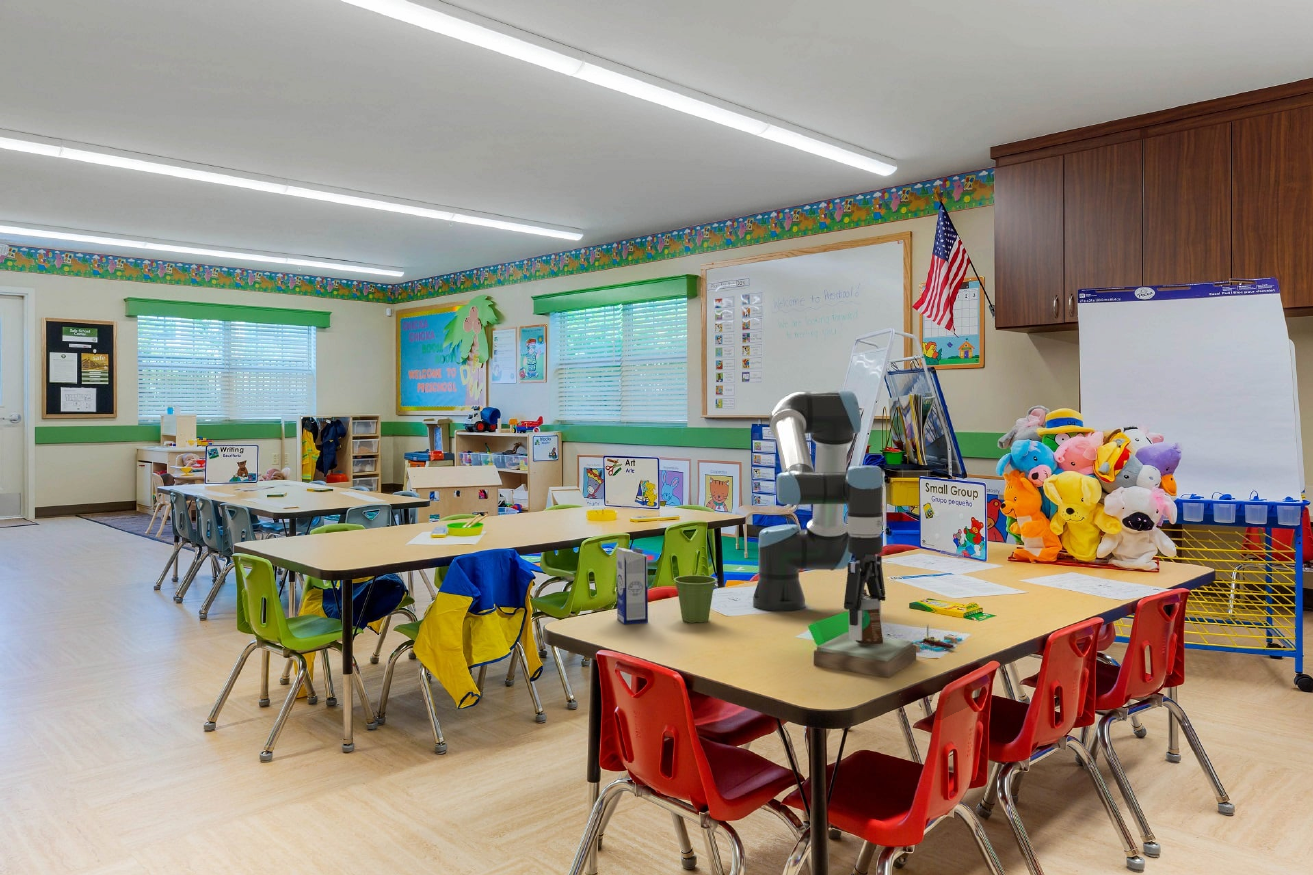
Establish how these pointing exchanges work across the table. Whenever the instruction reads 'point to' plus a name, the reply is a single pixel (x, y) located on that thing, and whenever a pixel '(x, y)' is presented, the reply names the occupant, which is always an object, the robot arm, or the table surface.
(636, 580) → the milk carton
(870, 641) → the food container
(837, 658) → the stand
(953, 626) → the table surface
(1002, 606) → the table surface
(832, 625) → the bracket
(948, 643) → the toy boat
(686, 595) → the plant pot
